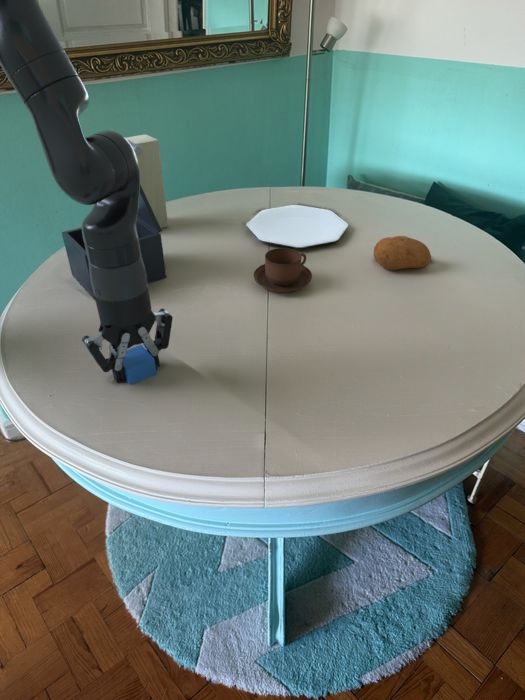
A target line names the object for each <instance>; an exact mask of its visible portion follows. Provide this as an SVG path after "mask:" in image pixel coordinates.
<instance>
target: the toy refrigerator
mask: <svg viewBox="0 0 525 700" xmlns="http://www.w3.org/2000/svg"><path fill="white" fill-rule="evenodd" d="M125 138H126V139H127V140H129V141H131V142H133V143H135V144H137V145H139V146H140V147H142V149H143V153H142V155H140V156H137V159H138V162H139V168H140V184H141V187H142V189H143V191H144V193H145V195H146V197H147V200H148V202H149V204H150V206H151V208H152V210H153V212H154V215H155V217H156V219H157V221H158V223H159V225H160V227H161V229H165V228H168V227H169V221H168V211H167V203H166V195H165V187H164V176H163V168H162V167H163V165H162V157H161V149H160V142H159V139H157V138H155V137H153V136H150V135H148V134H139V135H134V136H133V135H132V136H127V137H125Z"/></svg>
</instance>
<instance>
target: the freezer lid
mask: <svg viewBox="0 0 525 700" xmlns="http://www.w3.org/2000/svg"><path fill="white" fill-rule="evenodd" d="M128 141H129V140H128ZM129 143H130V144H131V146H132V147H133V149H134V151H135V153H136V156H140V155H142V153H143V149H142V147H140V146H139V145H137V144H135V143H133V142H131V141H129ZM137 217H138V218H140V219H141V220H142V221H144V222H145V223H146V224H148V225H149V226H150V227H152V228H153V229H154V230H156V231H157V232H159V233H161V232H162V230H163V229H162V228H161V227H160V225H159V223H158V221H157V219H156V217H155V215H154V212H153V210H152V208H151V206H150V204H149V202H148V200H147V197H146V195H145V193H144V191H143V189H142V187H141V184H140V192H139V205H138V214H137Z"/></svg>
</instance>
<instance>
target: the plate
mask: <svg viewBox="0 0 525 700" xmlns="http://www.w3.org/2000/svg"><path fill="white" fill-rule="evenodd" d="M246 227H247V228H248V230H249V231H250V232H251V233H252V235H254V236H255V238H256V239H257V240H258V241H260V242H261V243H265V244H271V245H277V246H282V247H286V248H291V249H306V248H312V247H317V246H323V245H328V244H333V243H337V242H339V241H340V239H341V237H342V236H343V235H344V233H345V232H346V231H347V229H348V228H349V224H348V222H347V221H345V220H343V219H342V218H341V217H340V216H338V215H337V214H336V213H335V212H333V211H332V210H330V209H326V208H318V207H312V206H306V205H301V204H291V205H285V206H277V207H272V208H265V209H262V210H260V211H259V212H258V213H256V214H255V215H254V216H253V217H252V218H251V219H250V220H249V221H247V222H246Z"/></svg>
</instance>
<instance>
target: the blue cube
mask: <svg viewBox="0 0 525 700" xmlns="http://www.w3.org/2000/svg"><path fill="white" fill-rule="evenodd" d="M123 368H124V371H125V375H126V380H127V381H126V382H127V383H128V385H129V386H131V385H134V384H136V383H139V382H142V381H144V380H145V379H148V378H150V377H153V376H155V375H158V373H157V369H156V366H155V360H154V358H153V357H152V356H151V355H150V353H149V352H148V351H147V349H146V348H145V346H144V345H143V344H138V345H135V346H134V347H130V348H128V349H127V352H126V357H125V358H124V361H123Z"/></svg>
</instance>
